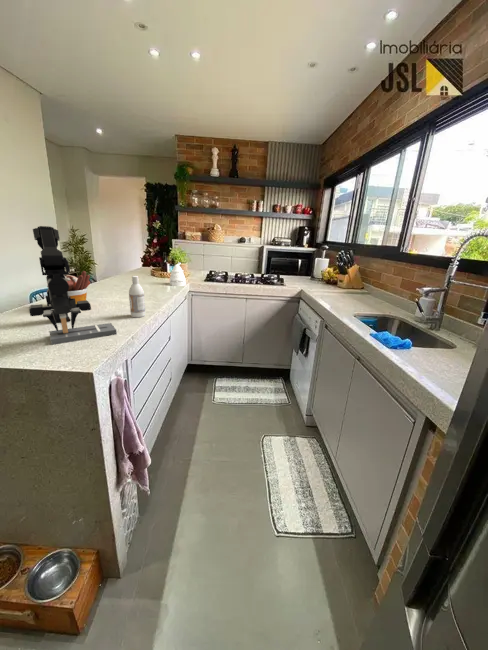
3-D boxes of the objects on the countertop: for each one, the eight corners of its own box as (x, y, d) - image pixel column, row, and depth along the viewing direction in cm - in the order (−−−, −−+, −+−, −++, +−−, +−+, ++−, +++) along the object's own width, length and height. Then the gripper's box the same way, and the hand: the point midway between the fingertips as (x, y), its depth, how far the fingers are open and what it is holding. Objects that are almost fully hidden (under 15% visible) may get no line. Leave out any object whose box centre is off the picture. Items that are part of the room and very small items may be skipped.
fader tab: (62, 330, 103) (59, 314, 100) (68, 330, 104) (65, 313, 102) (62, 333, 100) (59, 316, 98) (69, 332, 101) (66, 315, 99)
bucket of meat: (44, 310, 135) (36, 270, 128) (67, 302, 150) (61, 267, 144) (81, 313, 134) (75, 273, 127) (100, 305, 149) (96, 269, 143)
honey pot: (181, 282, 228) (180, 261, 222) (188, 285, 219) (188, 263, 213) (167, 284, 220) (166, 262, 214) (174, 286, 211) (173, 263, 205)
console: (50, 336, 104) (49, 330, 103) (111, 327, 116) (110, 322, 116) (51, 344, 96) (50, 339, 95) (116, 334, 109) (116, 329, 108)
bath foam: (129, 314, 135) (126, 275, 129) (143, 313, 139) (141, 275, 132) (132, 318, 130) (128, 277, 123) (146, 316, 133) (144, 277, 127)
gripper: (24, 296, 85) (34, 340, 90) (90, 291, 96) (96, 331, 101) (25, 289, 94) (34, 330, 99) (86, 286, 104) (91, 323, 109)
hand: (65, 329), depth 102 cm, fingers open, 5 cm apart
